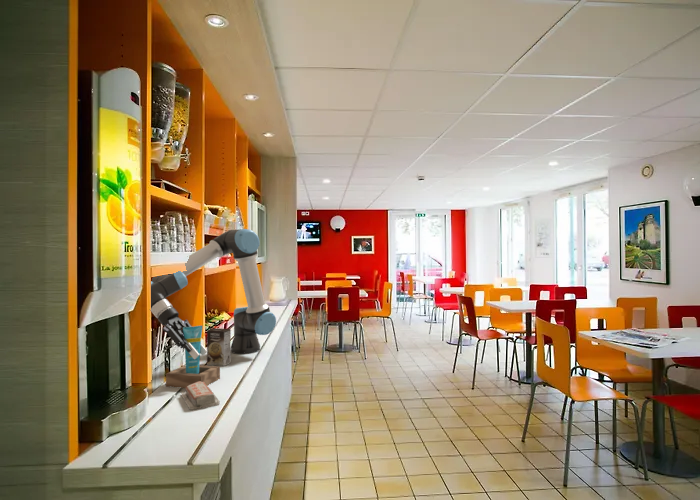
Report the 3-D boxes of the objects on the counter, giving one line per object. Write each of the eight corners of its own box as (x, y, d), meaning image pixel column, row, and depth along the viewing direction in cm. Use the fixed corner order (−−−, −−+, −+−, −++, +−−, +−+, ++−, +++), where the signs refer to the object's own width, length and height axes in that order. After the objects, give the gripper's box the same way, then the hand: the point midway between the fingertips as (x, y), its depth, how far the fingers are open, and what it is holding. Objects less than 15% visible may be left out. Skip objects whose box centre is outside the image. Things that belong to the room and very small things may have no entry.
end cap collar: (187, 376, 176) (187, 364, 176) (220, 378, 172) (219, 366, 172) (165, 386, 162) (165, 373, 162) (201, 389, 159) (200, 376, 159)
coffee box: (206, 365, 193) (206, 330, 193) (214, 361, 199) (213, 327, 199) (224, 366, 190) (223, 331, 190) (231, 362, 197) (230, 328, 197)
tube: (184, 376, 163) (184, 328, 163) (181, 373, 167) (181, 326, 167) (203, 373, 167) (203, 326, 167) (200, 370, 171) (200, 324, 171)
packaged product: (220, 392, 143) (189, 397, 138) (220, 406, 143) (190, 412, 138) (208, 378, 159) (180, 382, 153) (208, 390, 159) (181, 395, 153)
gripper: (173, 315, 179) (207, 355, 175) (144, 322, 162) (181, 367, 158) (184, 303, 178) (219, 344, 174) (155, 309, 161) (193, 354, 157)
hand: (201, 355), depth 166 cm, fingers closed on tube, 5 cm apart
